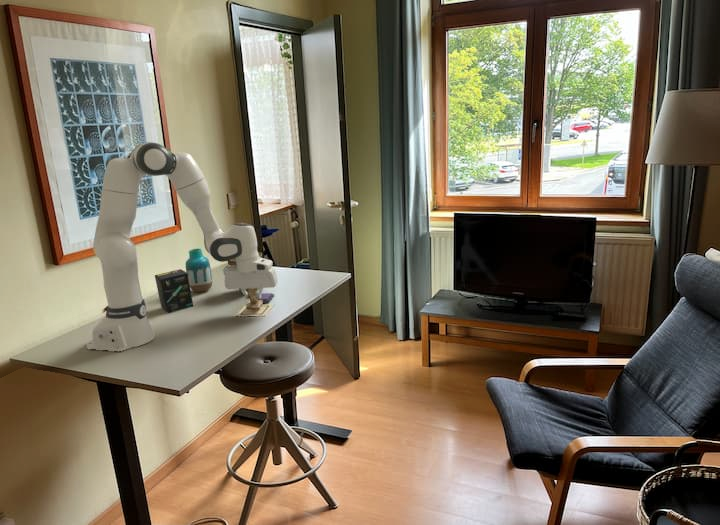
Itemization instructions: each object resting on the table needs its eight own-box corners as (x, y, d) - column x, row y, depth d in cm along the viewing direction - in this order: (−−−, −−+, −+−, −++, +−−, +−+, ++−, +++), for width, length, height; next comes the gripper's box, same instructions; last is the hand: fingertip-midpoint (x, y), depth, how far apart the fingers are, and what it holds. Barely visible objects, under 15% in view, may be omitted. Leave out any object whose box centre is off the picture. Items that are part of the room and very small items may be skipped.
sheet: (234, 317, 200) (234, 316, 200) (245, 305, 211) (245, 304, 211) (265, 316, 198) (265, 315, 198) (274, 304, 209) (274, 304, 209)
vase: (185, 294, 232) (177, 253, 227) (199, 286, 242) (192, 246, 237) (205, 295, 229) (198, 253, 224) (218, 287, 238) (212, 246, 233)
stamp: (246, 309, 202) (243, 287, 200) (250, 304, 207) (247, 283, 205) (258, 308, 202) (255, 287, 199) (262, 304, 206) (259, 283, 204)
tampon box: (186, 301, 223) (180, 268, 219) (194, 306, 216) (188, 272, 212) (160, 308, 217) (153, 274, 213) (167, 313, 210) (160, 278, 206)
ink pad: (249, 304, 213) (249, 299, 212) (256, 297, 221) (255, 293, 220) (268, 303, 212) (268, 299, 211) (274, 296, 219) (273, 292, 219)
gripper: (219, 267, 198) (225, 302, 202) (271, 265, 195) (276, 300, 199) (225, 263, 204) (231, 296, 208) (276, 260, 201) (280, 294, 205)
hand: (253, 298), depth 203 cm, fingers closed on stamp, 3 cm apart
